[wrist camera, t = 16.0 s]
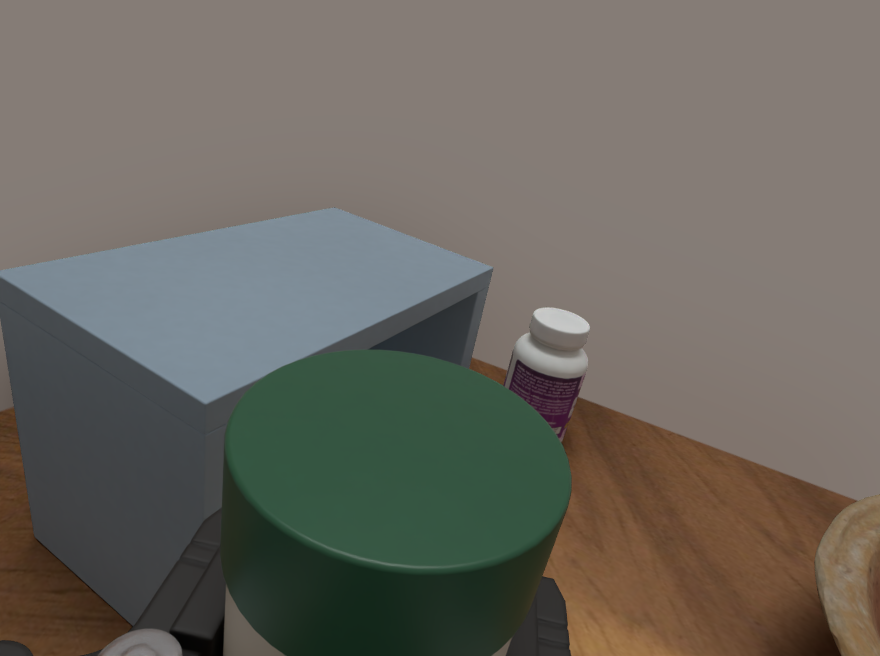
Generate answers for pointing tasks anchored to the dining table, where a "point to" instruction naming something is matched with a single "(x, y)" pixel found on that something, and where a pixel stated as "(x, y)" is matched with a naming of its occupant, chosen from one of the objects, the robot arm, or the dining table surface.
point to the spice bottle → (385, 509)
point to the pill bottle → (550, 365)
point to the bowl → (852, 578)
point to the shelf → (196, 368)
